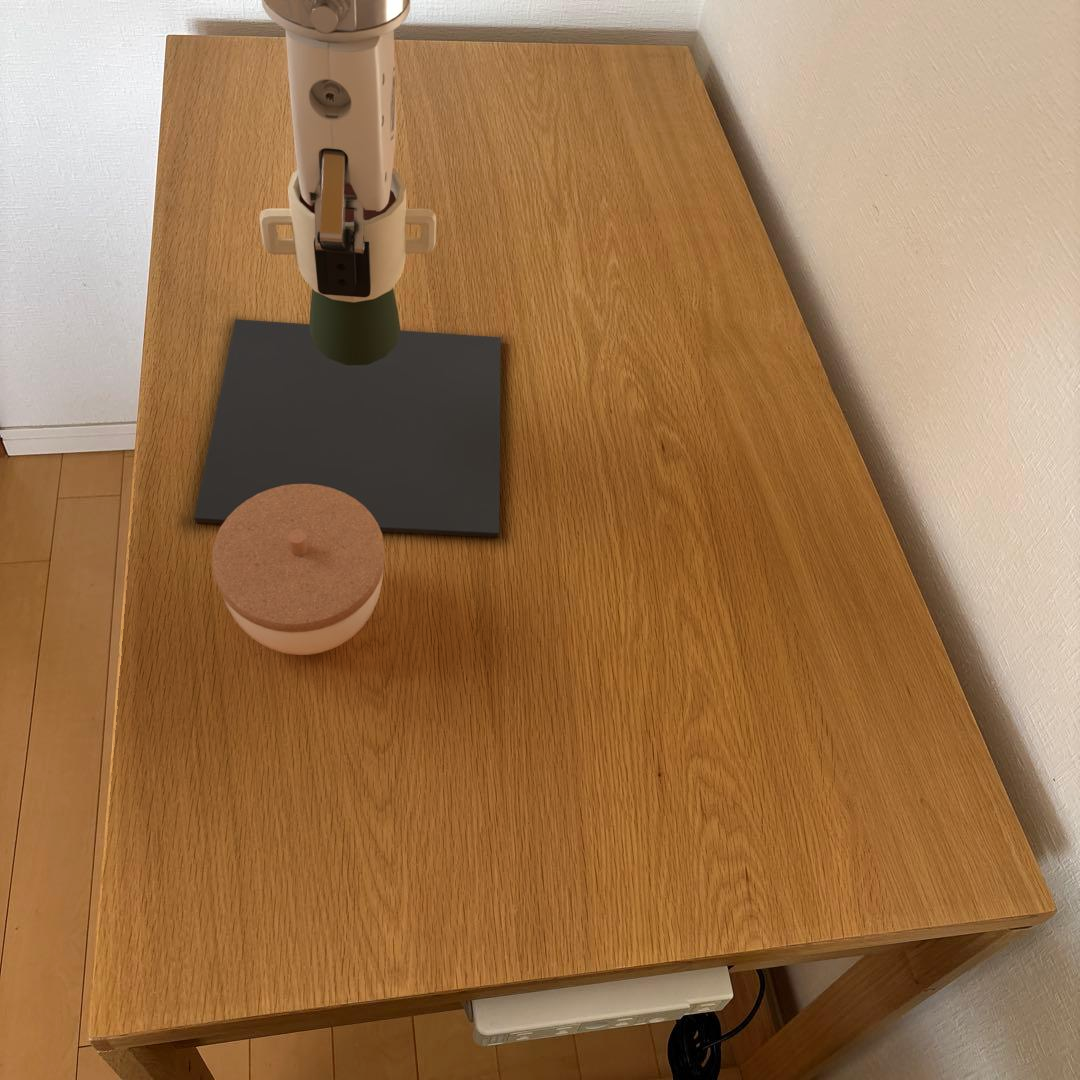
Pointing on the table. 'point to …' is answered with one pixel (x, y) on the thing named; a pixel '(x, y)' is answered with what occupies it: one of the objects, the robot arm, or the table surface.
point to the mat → (361, 428)
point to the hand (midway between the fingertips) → (350, 248)
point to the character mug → (373, 321)
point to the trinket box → (300, 567)
